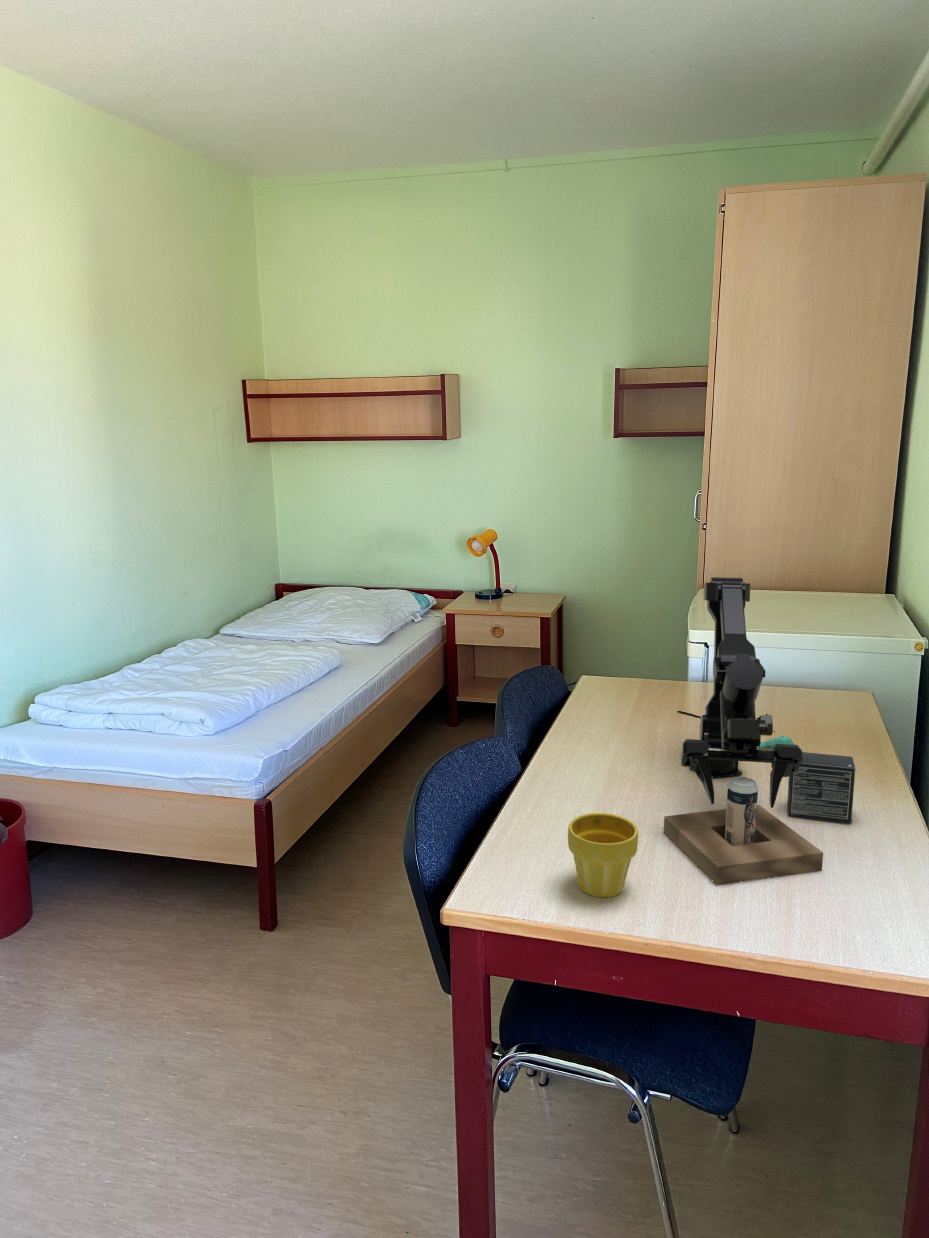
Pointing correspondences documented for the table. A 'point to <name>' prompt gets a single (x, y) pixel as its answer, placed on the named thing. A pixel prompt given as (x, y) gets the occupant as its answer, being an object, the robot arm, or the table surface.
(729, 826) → the beer can
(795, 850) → the holder block
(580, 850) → the plant pot
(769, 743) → the whale figurine
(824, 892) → the table surface
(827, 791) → the small box
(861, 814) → the table surface
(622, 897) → the table surface
